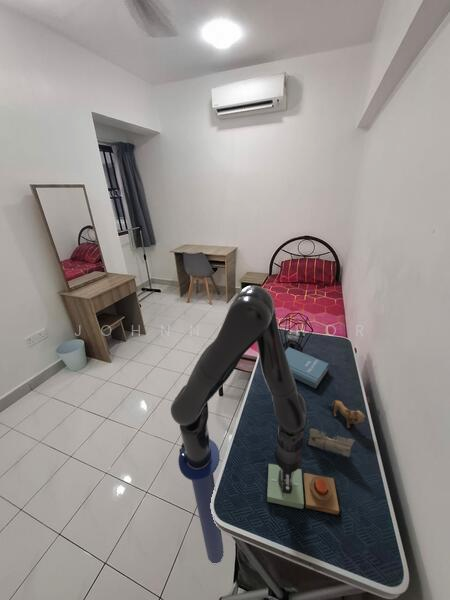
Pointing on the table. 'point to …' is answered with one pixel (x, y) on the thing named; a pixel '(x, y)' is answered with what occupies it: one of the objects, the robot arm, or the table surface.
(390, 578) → the table surface
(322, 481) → the button
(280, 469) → the knob
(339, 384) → the table surface
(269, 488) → the green dial box
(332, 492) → the button box
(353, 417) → the lion figurine
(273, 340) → the robot arm
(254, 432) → the table surface
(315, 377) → the book
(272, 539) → the table surface
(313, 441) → the comb
